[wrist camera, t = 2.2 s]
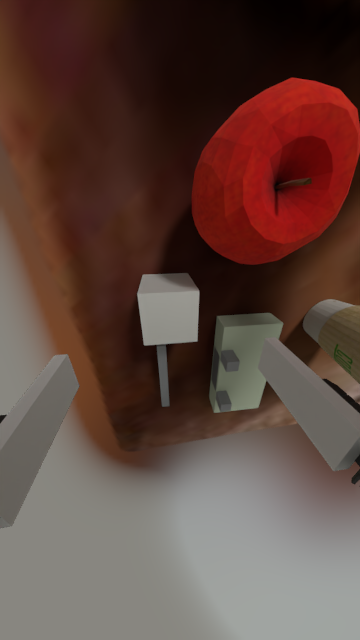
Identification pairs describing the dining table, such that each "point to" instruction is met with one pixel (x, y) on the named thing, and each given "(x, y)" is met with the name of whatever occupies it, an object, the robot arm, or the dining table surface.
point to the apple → (276, 171)
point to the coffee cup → (337, 332)
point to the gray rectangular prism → (168, 308)
